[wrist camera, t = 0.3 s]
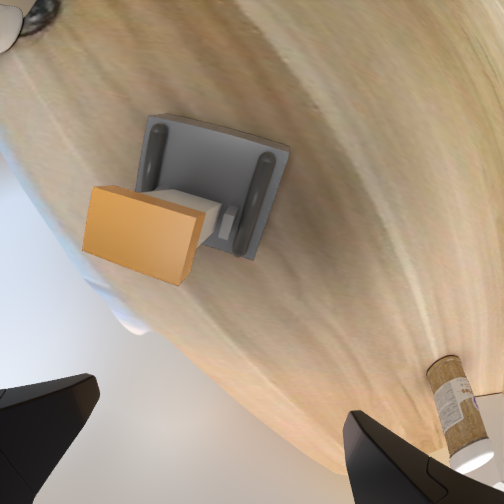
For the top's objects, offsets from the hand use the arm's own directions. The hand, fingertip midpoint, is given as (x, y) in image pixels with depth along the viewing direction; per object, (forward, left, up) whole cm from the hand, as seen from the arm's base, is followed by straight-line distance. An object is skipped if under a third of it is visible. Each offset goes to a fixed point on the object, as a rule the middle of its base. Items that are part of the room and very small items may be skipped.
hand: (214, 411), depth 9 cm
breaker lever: (+1, -4, -12) cm, 13 cm away
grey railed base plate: (0, -5, -15) cm, 16 cm away
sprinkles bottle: (-6, +26, -16) cm, 31 cm away
